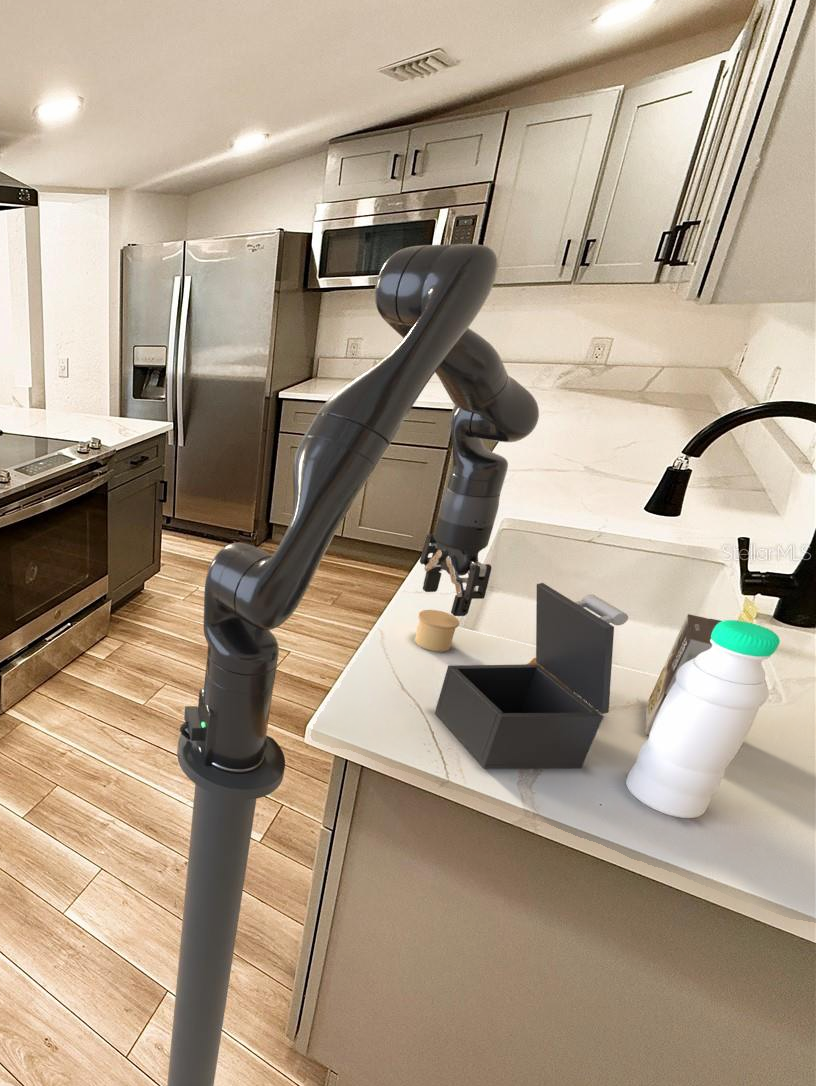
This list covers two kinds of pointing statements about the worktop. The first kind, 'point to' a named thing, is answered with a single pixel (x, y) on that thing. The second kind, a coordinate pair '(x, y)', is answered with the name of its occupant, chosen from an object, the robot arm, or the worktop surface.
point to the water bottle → (703, 721)
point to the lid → (577, 643)
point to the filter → (436, 630)
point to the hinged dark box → (516, 716)
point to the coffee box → (680, 660)
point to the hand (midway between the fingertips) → (443, 602)
